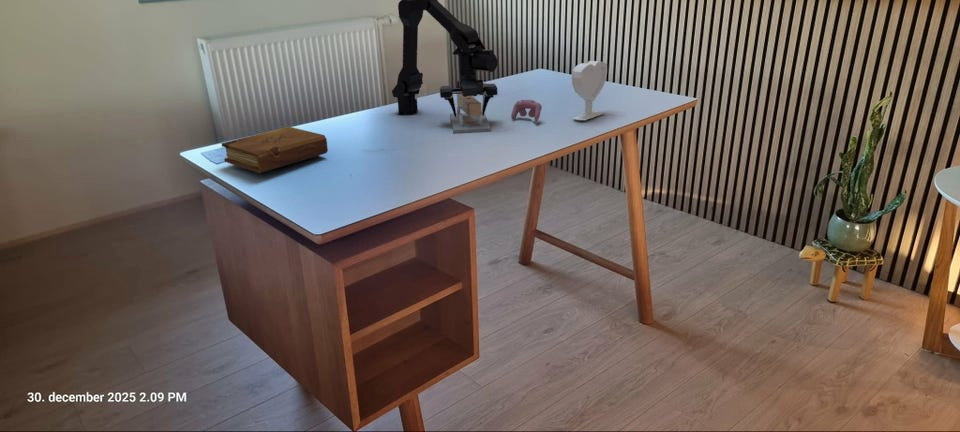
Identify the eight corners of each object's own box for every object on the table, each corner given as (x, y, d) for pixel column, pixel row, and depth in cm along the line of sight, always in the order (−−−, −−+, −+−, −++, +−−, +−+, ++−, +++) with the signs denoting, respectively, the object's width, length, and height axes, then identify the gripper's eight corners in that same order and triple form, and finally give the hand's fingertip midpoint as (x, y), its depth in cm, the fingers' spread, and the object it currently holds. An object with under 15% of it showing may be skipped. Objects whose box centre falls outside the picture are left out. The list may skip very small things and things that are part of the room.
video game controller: (541, 122, 226) (543, 101, 225) (537, 121, 222) (539, 100, 221) (514, 119, 230) (516, 99, 229) (509, 119, 226) (511, 98, 225)
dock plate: (453, 133, 214) (453, 130, 214) (450, 116, 234) (450, 113, 234) (490, 131, 215) (490, 127, 215) (484, 114, 235) (484, 111, 235)
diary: (261, 174, 184) (258, 154, 182) (224, 162, 195) (221, 143, 193) (328, 153, 200) (326, 134, 198) (291, 143, 211) (288, 125, 209)
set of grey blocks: (459, 126, 218) (459, 115, 217) (457, 116, 230) (456, 106, 229) (482, 125, 219) (482, 114, 217) (479, 115, 231) (478, 105, 229)
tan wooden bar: (469, 116, 215) (469, 104, 214) (457, 105, 230) (456, 93, 228) (481, 115, 216) (481, 102, 215) (468, 104, 231) (468, 92, 229)
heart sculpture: (581, 121, 223) (582, 67, 216) (569, 119, 226) (570, 65, 219) (607, 112, 233) (609, 59, 226) (595, 110, 236) (597, 58, 229)
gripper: (439, 75, 210) (442, 123, 216) (498, 72, 211) (499, 120, 217) (438, 68, 220) (441, 115, 226) (495, 66, 221) (496, 112, 227)
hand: (469, 116), depth 224 cm, fingers open, 9 cm apart
